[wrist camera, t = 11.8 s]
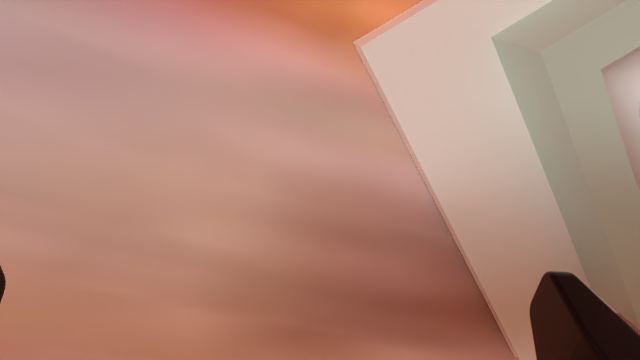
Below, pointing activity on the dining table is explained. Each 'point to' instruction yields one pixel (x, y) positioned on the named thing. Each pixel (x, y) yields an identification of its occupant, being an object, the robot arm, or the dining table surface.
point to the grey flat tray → (523, 140)
